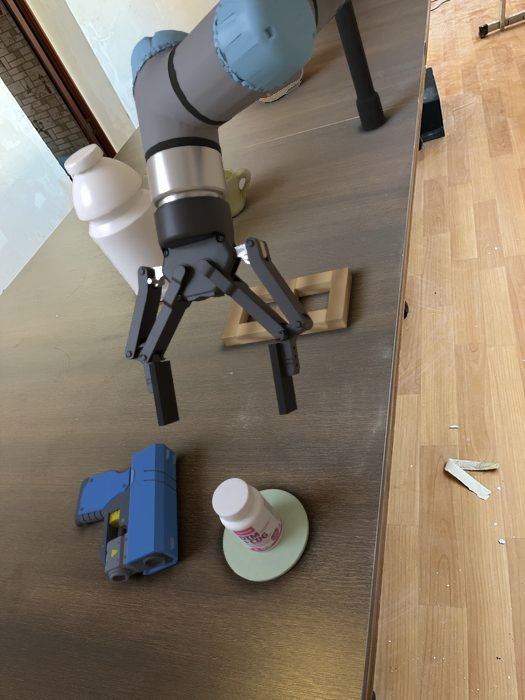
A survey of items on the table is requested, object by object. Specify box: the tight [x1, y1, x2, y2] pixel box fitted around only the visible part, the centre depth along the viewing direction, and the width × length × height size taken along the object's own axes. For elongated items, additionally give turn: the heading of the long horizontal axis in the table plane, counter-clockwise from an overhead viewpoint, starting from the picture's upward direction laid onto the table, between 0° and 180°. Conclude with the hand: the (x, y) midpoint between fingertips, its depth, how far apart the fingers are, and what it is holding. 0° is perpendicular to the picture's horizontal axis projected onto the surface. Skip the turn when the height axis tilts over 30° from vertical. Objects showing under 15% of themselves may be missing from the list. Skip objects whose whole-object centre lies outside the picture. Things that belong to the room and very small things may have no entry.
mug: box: [224, 168, 252, 218], centre depth 106 cm, size 12×10×10 cm
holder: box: [221, 266, 353, 347], centre depth 76 cm, size 20×11×2 cm, turn 79°
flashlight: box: [334, 0, 386, 131], centre depth 100 cm, size 5×24×5 cm
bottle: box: [63, 143, 170, 302], centre depth 90 cm, size 14×14×28 cm
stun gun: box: [73, 443, 179, 583], centre depth 61 cm, size 4×16×15 cm
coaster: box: [222, 488, 310, 583], centre depth 53 cm, size 10×10×1 cm
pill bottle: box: [211, 477, 283, 552], centre depth 50 cm, size 5×5×8 cm
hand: (225, 418), depth 49 cm, fingers open, 13 cm apart
